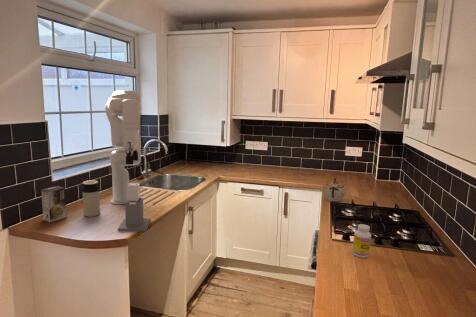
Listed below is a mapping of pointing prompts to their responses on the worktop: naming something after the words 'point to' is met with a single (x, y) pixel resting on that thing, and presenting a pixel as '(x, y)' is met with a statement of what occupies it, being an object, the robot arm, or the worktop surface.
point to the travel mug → (91, 198)
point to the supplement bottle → (362, 241)
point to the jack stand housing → (134, 217)
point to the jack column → (133, 192)
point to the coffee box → (54, 203)
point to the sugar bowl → (334, 191)
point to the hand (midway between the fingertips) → (132, 162)
